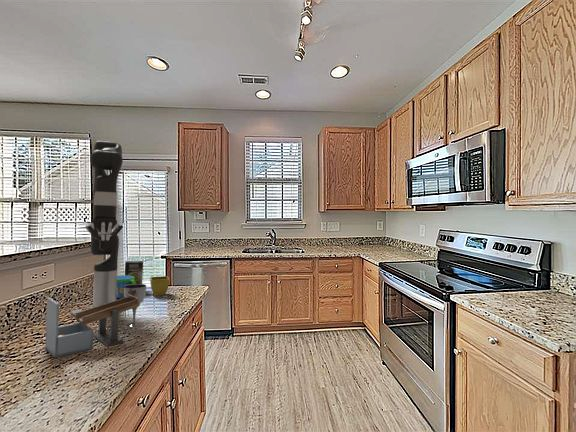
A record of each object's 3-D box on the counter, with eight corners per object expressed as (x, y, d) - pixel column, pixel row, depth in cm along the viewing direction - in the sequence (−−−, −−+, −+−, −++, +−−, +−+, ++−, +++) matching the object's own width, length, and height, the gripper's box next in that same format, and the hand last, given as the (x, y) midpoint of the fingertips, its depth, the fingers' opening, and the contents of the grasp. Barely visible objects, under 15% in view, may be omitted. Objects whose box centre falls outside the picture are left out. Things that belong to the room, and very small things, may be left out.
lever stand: (92, 336, 117) (93, 304, 117) (107, 332, 121) (108, 302, 121) (107, 346, 109) (108, 312, 109) (123, 342, 112) (124, 309, 112)
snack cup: (142, 297, 172) (142, 277, 172) (124, 301, 162) (125, 280, 162) (120, 293, 178) (120, 274, 178) (102, 297, 168) (102, 277, 168)
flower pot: (150, 297, 172) (151, 279, 171) (149, 293, 179) (149, 276, 179) (169, 296, 176) (169, 278, 176) (166, 292, 183) (167, 275, 183)
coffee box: (123, 292, 179) (124, 262, 179) (124, 290, 185) (125, 260, 185) (142, 291, 183) (143, 262, 183) (142, 289, 189) (143, 260, 189)
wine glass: (136, 328, 126) (137, 288, 126) (117, 326, 127) (119, 287, 127) (149, 322, 134) (150, 284, 134) (131, 320, 135) (132, 283, 135)
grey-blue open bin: (45, 348, 106) (47, 297, 106) (81, 340, 113) (83, 292, 113) (55, 358, 99) (56, 304, 99) (92, 348, 107) (94, 298, 107)
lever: (68, 315, 115) (67, 306, 115) (122, 298, 129) (121, 290, 128) (83, 325, 106) (82, 316, 106) (139, 306, 119) (138, 298, 119)
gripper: (119, 205, 133) (117, 248, 134) (82, 203, 123) (80, 250, 124) (127, 205, 129) (126, 250, 129) (89, 203, 119) (88, 252, 119)
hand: (103, 250), depth 126 cm, fingers closed
